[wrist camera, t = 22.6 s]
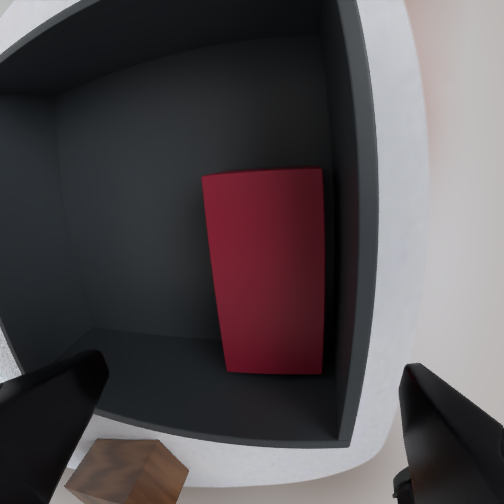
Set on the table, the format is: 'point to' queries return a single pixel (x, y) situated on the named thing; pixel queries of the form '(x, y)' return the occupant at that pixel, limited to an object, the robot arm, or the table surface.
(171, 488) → the wooden stand
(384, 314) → the table surface
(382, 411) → the table surface
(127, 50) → the storage bin
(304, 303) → the red rectangular block
